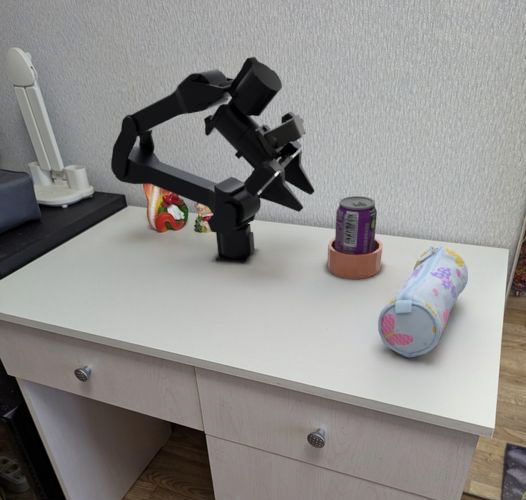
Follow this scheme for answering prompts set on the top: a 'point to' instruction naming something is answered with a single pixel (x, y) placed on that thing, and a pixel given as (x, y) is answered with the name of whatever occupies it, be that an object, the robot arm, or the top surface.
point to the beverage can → (355, 225)
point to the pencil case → (423, 303)
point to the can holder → (354, 262)
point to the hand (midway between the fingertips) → (307, 201)
